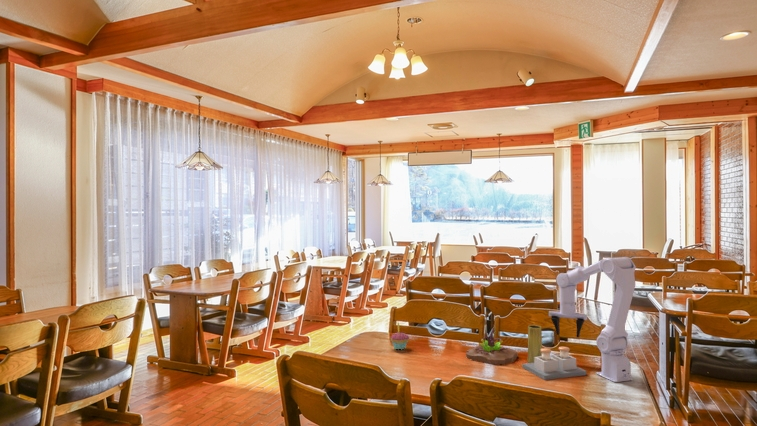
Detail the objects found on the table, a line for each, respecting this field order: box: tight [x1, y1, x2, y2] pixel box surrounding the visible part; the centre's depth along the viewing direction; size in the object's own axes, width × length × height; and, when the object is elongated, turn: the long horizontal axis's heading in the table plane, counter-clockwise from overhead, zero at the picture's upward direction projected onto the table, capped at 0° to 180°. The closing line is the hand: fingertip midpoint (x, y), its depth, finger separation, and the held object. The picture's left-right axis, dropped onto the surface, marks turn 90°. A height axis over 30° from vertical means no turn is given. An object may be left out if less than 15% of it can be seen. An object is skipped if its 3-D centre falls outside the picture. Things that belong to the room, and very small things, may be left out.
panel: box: [521, 354, 587, 381], centre depth 175 cm, size 14×18×5 cm
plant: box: [465, 329, 518, 366], centre depth 194 cm, size 20×20×11 cm
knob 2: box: [558, 346, 570, 359], centre depth 175 cm, size 4×4×5 cm
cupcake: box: [390, 322, 410, 350], centre depth 206 cm, size 9×8×12 cm
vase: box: [526, 324, 543, 363], centre depth 186 cm, size 6×6×14 cm
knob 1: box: [541, 347, 552, 361], centre depth 173 cm, size 4×4×5 cm
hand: (568, 335), depth 188 cm, fingers open, 7 cm apart
